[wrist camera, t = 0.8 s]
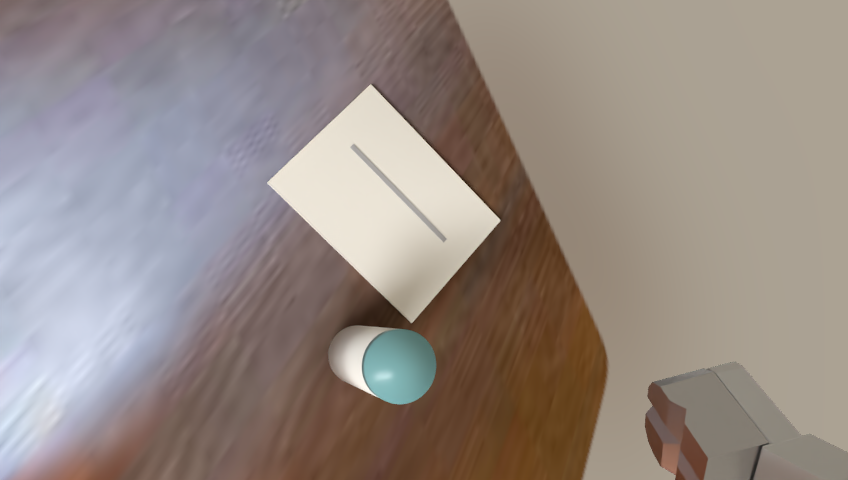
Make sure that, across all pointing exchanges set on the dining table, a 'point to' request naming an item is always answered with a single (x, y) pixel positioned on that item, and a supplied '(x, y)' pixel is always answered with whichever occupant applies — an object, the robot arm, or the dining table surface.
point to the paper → (386, 202)
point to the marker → (384, 362)
